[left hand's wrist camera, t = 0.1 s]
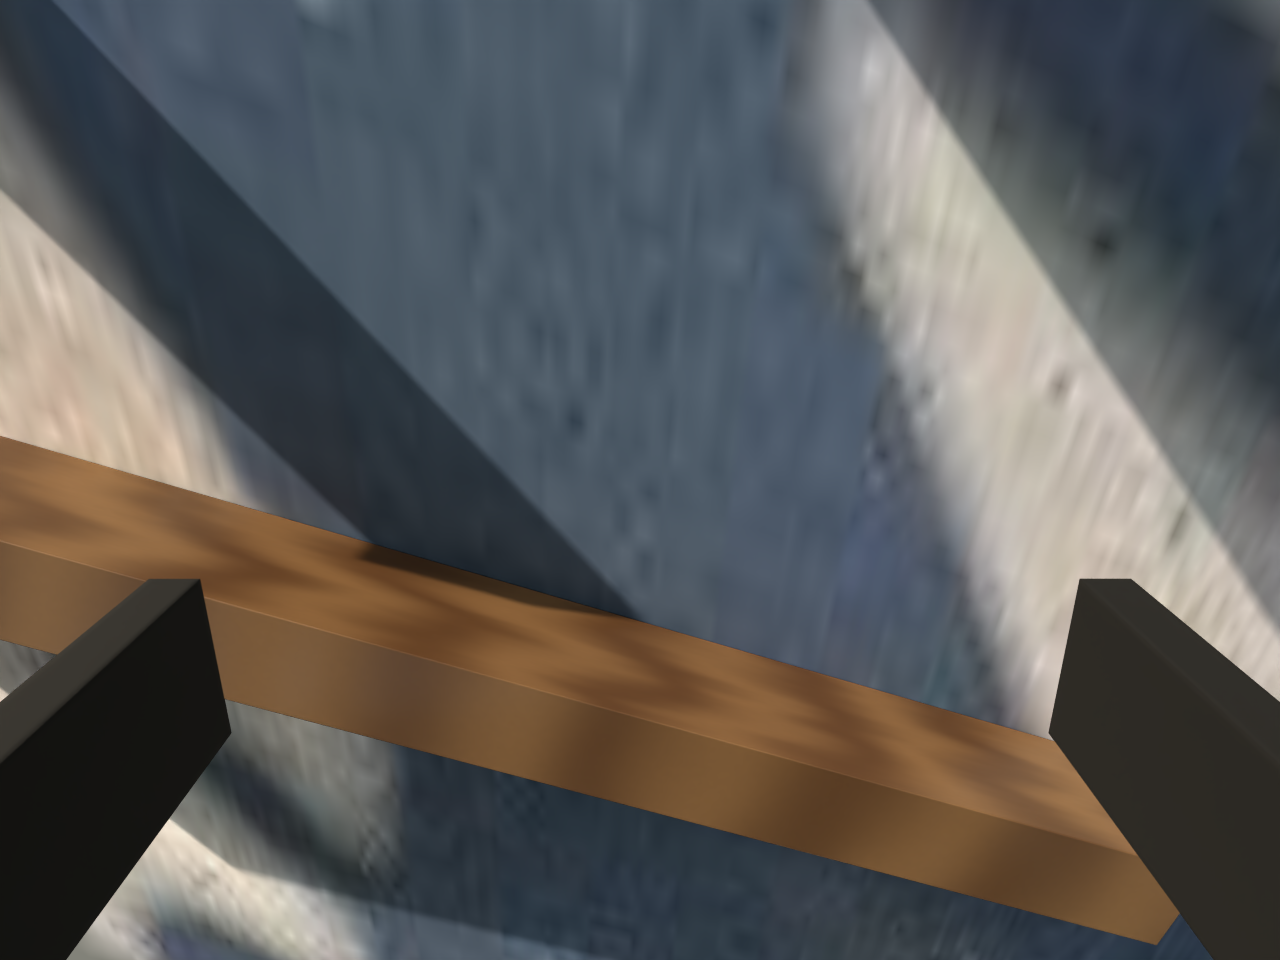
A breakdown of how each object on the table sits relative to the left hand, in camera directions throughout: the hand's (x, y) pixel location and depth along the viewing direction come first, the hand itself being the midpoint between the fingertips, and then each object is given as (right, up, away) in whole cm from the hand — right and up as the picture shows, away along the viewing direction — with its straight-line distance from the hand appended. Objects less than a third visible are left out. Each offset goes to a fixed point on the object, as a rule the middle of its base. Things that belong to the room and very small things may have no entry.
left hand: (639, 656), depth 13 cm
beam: (-10, -4, +31) cm, 33 cm away
